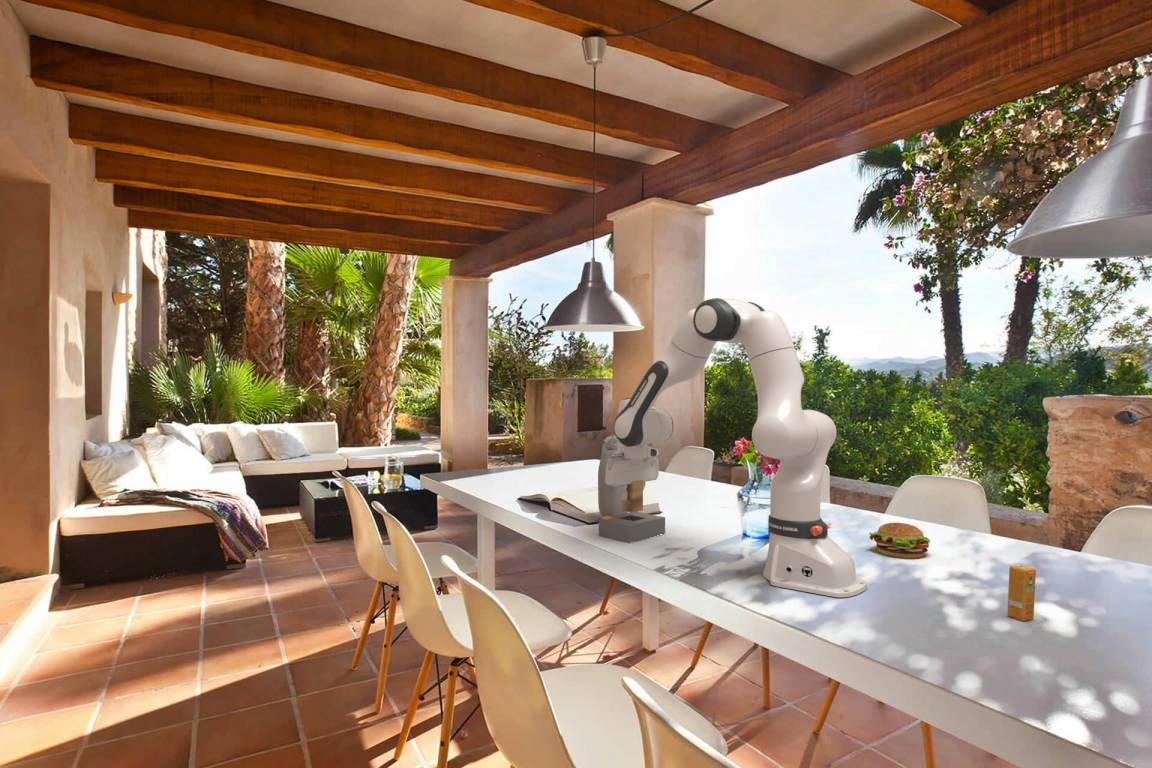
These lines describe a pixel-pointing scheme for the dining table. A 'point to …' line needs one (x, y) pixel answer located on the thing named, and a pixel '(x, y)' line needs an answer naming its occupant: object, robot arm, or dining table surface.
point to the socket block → (631, 526)
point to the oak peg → (633, 497)
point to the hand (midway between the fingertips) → (632, 498)
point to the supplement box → (1021, 592)
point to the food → (900, 540)
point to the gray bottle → (606, 494)
